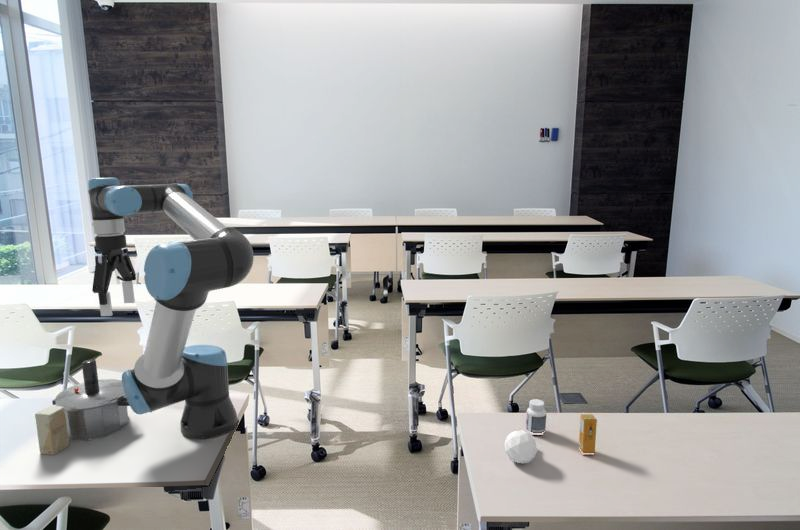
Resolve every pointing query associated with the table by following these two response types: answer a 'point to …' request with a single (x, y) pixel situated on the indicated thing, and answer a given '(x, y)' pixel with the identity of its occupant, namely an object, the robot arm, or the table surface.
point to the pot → (96, 420)
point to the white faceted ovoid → (520, 446)
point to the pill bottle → (536, 416)
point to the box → (51, 429)
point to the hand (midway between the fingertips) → (118, 309)
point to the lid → (90, 391)
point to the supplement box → (587, 433)
